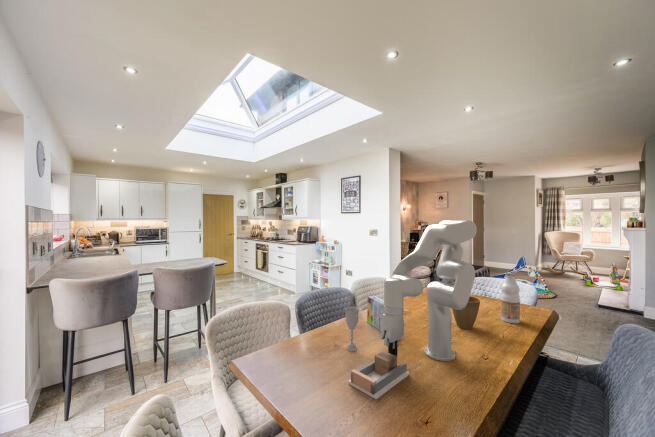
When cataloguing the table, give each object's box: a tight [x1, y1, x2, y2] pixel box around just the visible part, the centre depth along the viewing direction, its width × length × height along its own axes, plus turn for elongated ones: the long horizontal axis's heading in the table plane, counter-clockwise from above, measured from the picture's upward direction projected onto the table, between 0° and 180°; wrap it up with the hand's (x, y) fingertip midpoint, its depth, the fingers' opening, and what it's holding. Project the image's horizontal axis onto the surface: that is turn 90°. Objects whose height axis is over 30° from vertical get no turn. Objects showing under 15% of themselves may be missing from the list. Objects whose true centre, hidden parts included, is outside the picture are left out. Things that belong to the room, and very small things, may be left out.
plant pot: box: [451, 295, 481, 330], centre depth 153 cm, size 15×15×16 cm
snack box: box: [366, 295, 384, 332], centre depth 150 cm, size 21×6×15 cm, turn 22°
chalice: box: [344, 306, 361, 352], centre depth 125 cm, size 7×7×18 cm
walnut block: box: [374, 350, 398, 376], centre depth 104 cm, size 6×6×6 cm
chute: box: [347, 359, 410, 400], centre depth 101 cm, size 21×12×5 cm, turn 134°
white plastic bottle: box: [500, 272, 521, 324], centre depth 163 cm, size 9×9×28 cm
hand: (392, 357), depth 107 cm, fingers closed
